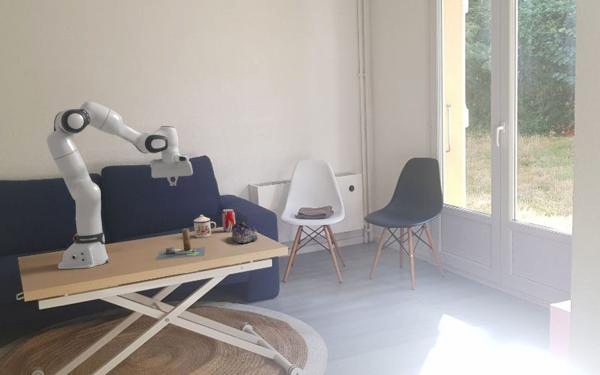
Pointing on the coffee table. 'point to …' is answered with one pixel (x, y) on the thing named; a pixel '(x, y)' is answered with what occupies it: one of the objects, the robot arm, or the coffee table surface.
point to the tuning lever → (185, 242)
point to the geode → (243, 233)
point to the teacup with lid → (203, 227)
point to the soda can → (228, 219)
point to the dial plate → (181, 254)
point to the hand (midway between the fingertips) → (173, 185)
